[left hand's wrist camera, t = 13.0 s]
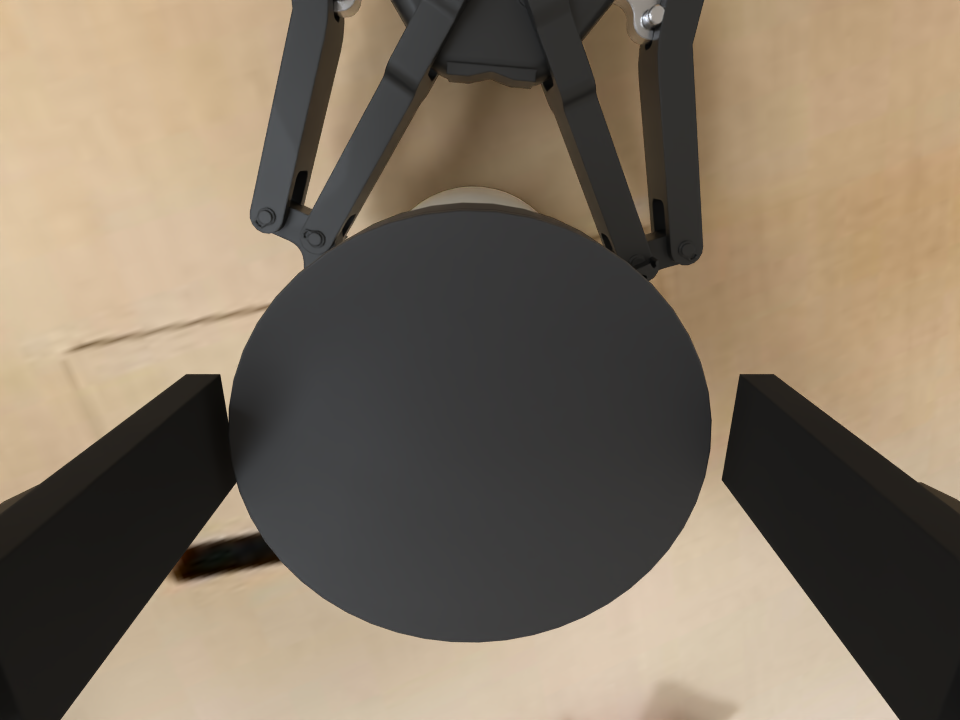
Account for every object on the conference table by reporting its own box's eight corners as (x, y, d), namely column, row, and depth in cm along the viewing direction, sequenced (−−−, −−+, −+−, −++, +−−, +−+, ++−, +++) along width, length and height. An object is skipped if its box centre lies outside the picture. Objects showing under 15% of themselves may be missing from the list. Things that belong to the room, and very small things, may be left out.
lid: (756, 297, 13) (805, 322, 11) (576, 624, 16) (590, 687, 14) (325, 128, 12) (296, 123, 10) (222, 519, 15) (185, 574, 13)
